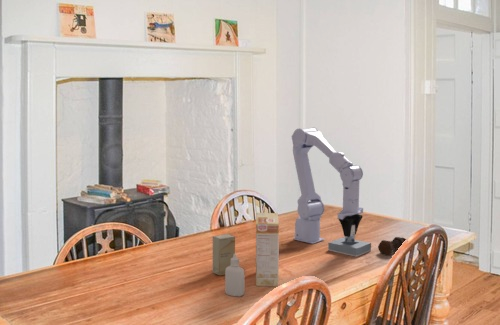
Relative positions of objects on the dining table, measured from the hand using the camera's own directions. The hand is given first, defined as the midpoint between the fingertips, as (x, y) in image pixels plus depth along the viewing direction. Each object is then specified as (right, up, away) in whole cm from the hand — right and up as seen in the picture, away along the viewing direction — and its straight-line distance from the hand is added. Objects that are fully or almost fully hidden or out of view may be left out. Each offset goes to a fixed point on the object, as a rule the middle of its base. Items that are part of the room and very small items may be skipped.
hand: (350, 235), depth 211 cm
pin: (0, -2, 0) cm, 2 cm away
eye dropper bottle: (-41, -12, -44) cm, 61 cm away
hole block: (0, -6, +1) cm, 6 cm away
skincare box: (-45, -9, -25) cm, 52 cm away
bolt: (+17, -6, +1) cm, 18 cm away
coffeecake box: (-31, -10, -30) cm, 45 cm away
